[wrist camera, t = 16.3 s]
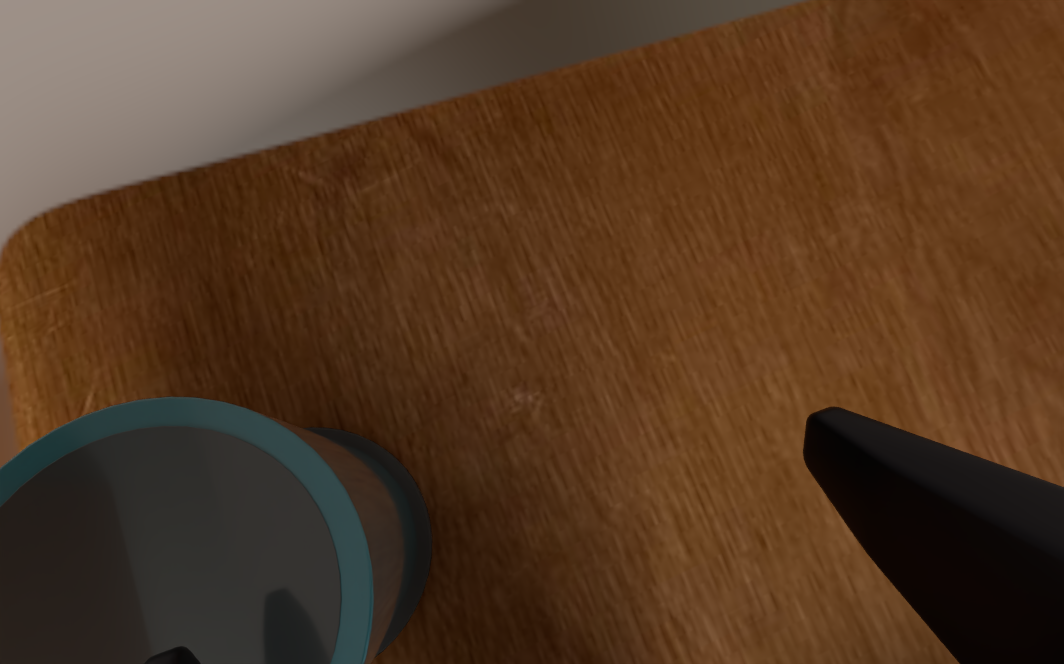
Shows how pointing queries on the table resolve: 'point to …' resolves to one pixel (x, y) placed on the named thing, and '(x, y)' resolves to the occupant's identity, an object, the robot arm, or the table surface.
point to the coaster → (419, 517)
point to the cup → (198, 541)
